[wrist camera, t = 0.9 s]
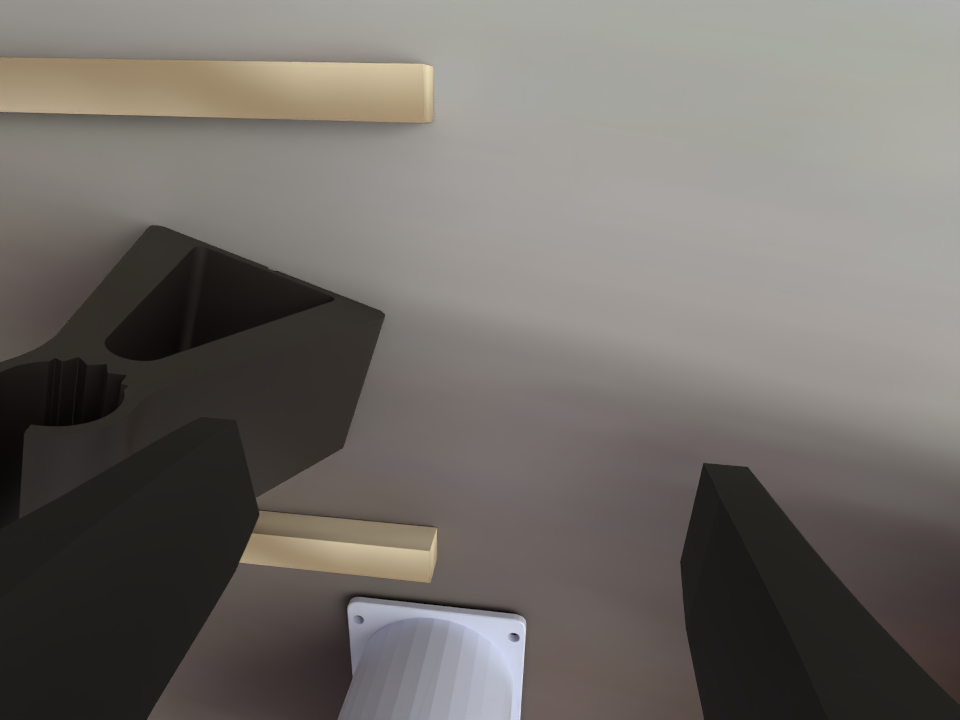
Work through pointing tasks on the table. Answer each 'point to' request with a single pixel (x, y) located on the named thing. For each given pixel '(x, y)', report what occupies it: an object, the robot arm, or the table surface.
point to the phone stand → (183, 370)
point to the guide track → (262, 96)
